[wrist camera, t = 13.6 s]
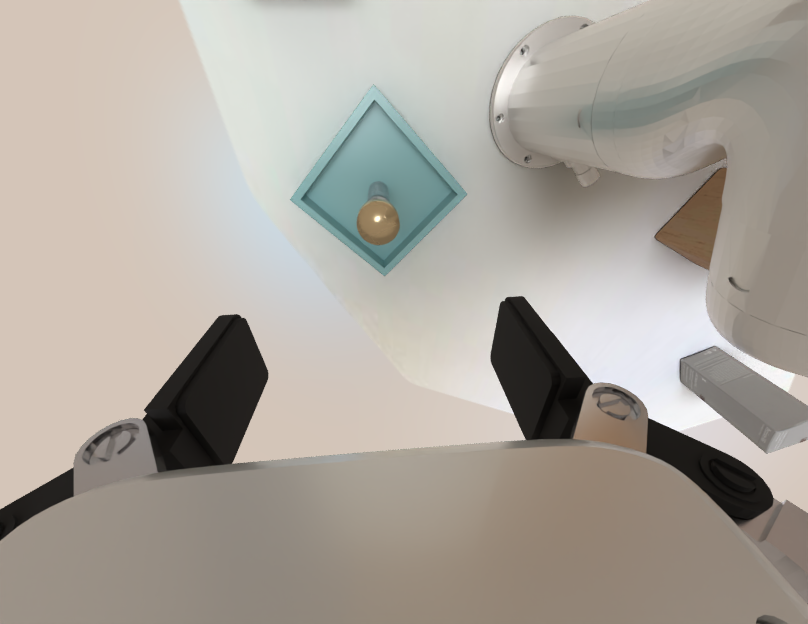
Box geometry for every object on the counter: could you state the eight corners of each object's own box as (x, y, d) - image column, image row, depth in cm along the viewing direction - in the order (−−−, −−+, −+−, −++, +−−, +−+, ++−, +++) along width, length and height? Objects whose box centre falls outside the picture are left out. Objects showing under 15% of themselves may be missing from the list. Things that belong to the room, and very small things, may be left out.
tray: (461, 188, 35) (467, 194, 33) (384, 266, 40) (384, 276, 38) (374, 86, 29) (373, 84, 27) (296, 193, 34) (289, 199, 32)
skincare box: (678, 358, 56) (770, 433, 42) (720, 342, 54) (829, 415, 41) (679, 383, 60) (762, 457, 47) (717, 369, 58) (815, 442, 45)
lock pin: (400, 191, 34) (408, 223, 24) (379, 214, 36) (380, 253, 26) (377, 168, 33) (376, 192, 23) (357, 193, 34) (347, 225, 24)
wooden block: (694, 263, 44) (885, 353, 27) (651, 236, 41) (837, 320, 24) (762, 200, 39) (1045, 264, 22) (720, 165, 36) (1011, 208, 19)
